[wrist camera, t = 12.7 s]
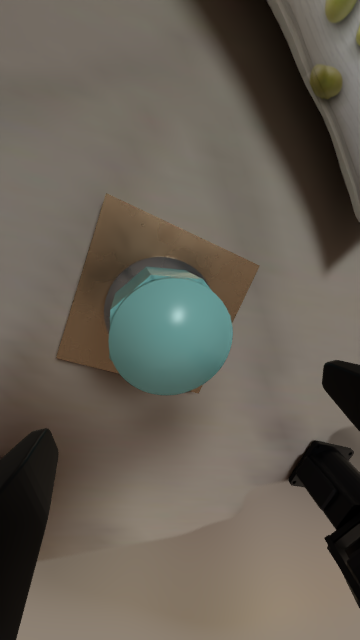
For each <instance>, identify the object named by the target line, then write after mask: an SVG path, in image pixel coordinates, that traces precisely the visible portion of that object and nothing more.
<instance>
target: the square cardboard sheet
mask: <svg viewBox="0 0 360 640" xmlns="http://www.w3.org/2000/svg"><path fill="white" fill-rule="evenodd" d="M145 267H156V268H167V269H177V270H186V271H188V272H190V273H192V274H194V275H196V276H198V277H200V278H202V279H203V280H204V281H205V282H206V284H207V285H208V286H209V288H210V289H211V290H212V292H214V293H215V294H216V295H217V296H218V297H219V298H220V299H221V301H222V302H223V303H224V305H225V307H226V308H227V310H228V313H229V314H230V316H231V322H233V320H234V318H235V316H236V314H237V312H238V310H239V308H240V306H241V304H242V302H243V299H244V297H245V295H246V293H247V291H248V289H249V287H250V285H251V283H252V281H253V279H254V277H255V274H256V272H257V270H258V268H259V265H257V264H255V263H253V262H251V261H248V260H246V259H244V258H242V257H240V256H238V255H236V254H234V253H232V252H229V251H227V250H225V249H223V248H221V247H219V246H217V245H215V244H212V243H210V242H208V241H206V240H204V239H202V238H200V237H198V236H196V235H193V234H191V233H189V232H187V231H185V230H183V229H181V228H179V227H176V226H174V225H172V224H170V223H168V222H166V221H164V220H162V219H160V218H157V217H155V216H153V215H151V214H149V213H147V212H145V211H143V210H140V209H138V208H136V207H134V206H132V205H130V204H128V203H126V202H124V201H121V200H119V199H117V198H115V197H113V196H111V195H109V194H107V193H106V196H105V199H104V202H103V205H102V209H101V212H100V215H99V219H98V222H97V225H96V228H95V232H94V235H93V238H92V242H91V245H90V248H89V251H88V255H87V258H86V261H85V265H84V268H83V271H82V274H81V278H80V281H79V284H78V288H77V291H76V294H75V297H74V301H73V304H72V307H71V311H70V314H69V317H68V320H67V324H66V327H65V330H64V334H63V337H62V340H61V343H60V347H59V350H58V353H57V357H56V358H58V359H62V360H66V361H70V362H74V363H78V364H82V365H86V366H90V367H94V368H98V369H102V370H106V371H110V372H115V373H119V372H118V371H117V369H116V367H115V366H114V364H113V361H112V360H110V359H109V341H108V340H109V331H110V309H111V306H112V303H113V300H114V297H115V293H116V292H117V291H118V290H120V289H121V288H122V287H123V286H124V285H125V284H126V283H128V282H129V281H130V280H131V279H132V278H133V277H135V276H136V275H137V274H138V273H139V272H140V271H142V270H143V269H144V268H145ZM119 374H120V373H119ZM201 387H202V385H201V386H199V387H198V388H195V389H193V390H191V392H195V393H199V391H200V389H201Z"/></svg>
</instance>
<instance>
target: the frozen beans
mask: <svg viewBox="0 0 360 640" xmlns="http://www.w3.org/2000/svg"><path fill="white" fill-rule="evenodd" d="M266 1H267V2H268V4H269V6H270V8H271V10H272V12H273V14H274V16H275V18H276V19H277V21H278V23H279V26H280V28H281V30H282V32H283V34H284V36H285V39H286V41H287V43H288V45H289V48H290V50H291V53H292V55H293V58H294V60H295V62H296V65H297V67H298V69H299V72H300V74H301V76H302V79H303V81H304V83H305V85H306V87H307V89H308V91H309V93H310V94H311V96H312V98H313V100H314V102H315V104H316V106H317V108H318V109H319V111H320V113H321V115H322V117H323V119H324V122H325V124H326V126H327V129H328V131H329V133H330V136H331V139H332V142H333V145H334V148H335V151H336V155H337V159H338V162H339V166H340V169H341V172H342V175H343V178H344V181H345V184H346V187H347V190H348V192H349V195H350V199H351V202H352V206H353V209H354V213H355V216H356V218H357V219H358V221H359V223H360V0H266Z"/></svg>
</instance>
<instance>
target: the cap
mask: <svg viewBox="0 0 360 640" xmlns="http://www.w3.org/2000/svg"><path fill="white" fill-rule="evenodd" d="M232 336H233V332H232V322H231V316H230V314H229V313H228V310H227V308H226V307H225V305H224V303H223V302H222V301H221V299H220V298H219V297H218V296H217V295H216V294H215V293H214V292H212V290H211V289H210V288H209V286H208V285H207V284H206V282H205V281H204V280H203V279H202V278H200V277H198V276H196V275H194V274H192V273H190V272H188V271H186V270H177V269H167V268H156V267H145V268H144V269H143V270H142V271H140V272H139V273H138V274H137V275H136V276H135V277H133V278H132V279H131V280H130V281H129V282H128V283H126V284H125V285H124V286H123V287H122V288H121V289H120V290H118V291H117V292H116V293H115V297H114V300H113V303H112V306H111V309H110V331H109V340H108V341H109V359H110V360H112V361H113V364H114V366H115V367H116V369H117V371H118V372H119V373H120V375H121V376H122V377H123V378H124V379H125V380H126V381H127V382H129V383H130V384H131V385H132V386H134V387H136V388H138V389H140V390H142V391H145V392H148V393H151V394H157V395H176V394H181V393H185V392H188V391H191V390H193V389H195V388H198V387H199V386H201V385H203V384H204V383H206V382H207V381H208V380H210V379H211V378H212V377H213V376H214V375H215V374H216V373H217V372H218V371H219V369H220V368H221V367H222V365H223V364H224V362H225V360H226V358H227V356H228V354H229V351H230V348H231V344H232Z"/></svg>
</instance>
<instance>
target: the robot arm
mask: <svg viewBox="0 0 360 640" xmlns="http://www.w3.org/2000/svg"><path fill="white" fill-rule="evenodd" d="M322 385H323V388H324V390H325V391H326V392H327V393H328V395H329V396H330V397H331V398H332V399H333V401H334V402H335V403H336V404H337V405H338V407H339V408H340V409H341V410H342V411H343V412H344V414H345V415H346V416H347V417H348V418H349V420H350V421H351V422H352V423H353V424H354V426H355V427H356V428H357V429H358V430H359V431H360V365H358V364H353V363H349V362H344V361H340V360H334V361H330V362H327V363H325V365H324V368H323V378H322ZM353 454H354V451H353V450H352V449H351V448H348V447H343V446H338V445H334V444H329V443H324V442H320V441H314V442H313V443H312V444H311V446H310V447H309V449H308V450H307V452H306V454H305V455H304V457H303V458H302V460H301V461H300V463H299V464H298V466H297V467H296V469H295V471H294V472H293V474H292V475H291V477H290V478H289V482H290V484H291V485H293V486H301V487H305V488H306V489H307V491H308V492H309V494H310V495H311V496H312V498H313V499H314V501H315V502H316V503H317V505H318V506H319V508H320V509H321V510H322V511H323V512H324V513H325V515H326V516H327V518H328V519H329V520H330V522H331V523H332V524H333V526H334V527H335V529H336V531H335V532H334V533H332V534H331V535H328V536H326V537H325V540H326V542H327V544H328V547H327V549H328V550H329V552H330V553H331V555H332V556H333V558H334V560H335V561H336V563H337V564H338V566H339V568H340V569H341V571H342V573H343V575H344V577H345V579H346V582H347V584H348V586H349V588H350V590H351V592H352V594H353V596H354V598H355V600H356V602H357V604H358V606H359V608H360V472H359V471H358V470H357V469H356V468H355V467H354V466H353V465H352V464H351V463H350V462H349V459H350V458H351V457H352V455H353ZM57 462H58V449H57V446H56V444H55V441H54V439H53V436H52V434H51V432H50V430H49V429H47V428H45V429H40V430H36V431H33V432H31V433H30V434H29V435H28V436H26V437H25V438H24V439H23V440H22V441H21V442H20V443H19V444H17V445H16V446H15V447H14V448H13V449H12V450H11V451H10V452H8V453H7V454H6V455H5V456H4V457H3V458H2V459H0V640H16V638H17V634H18V630H19V626H20V623H21V619H22V615H23V611H24V607H25V603H26V599H27V596H28V592H29V588H30V585H31V581H32V577H33V573H34V570H35V566H36V562H37V558H38V554H39V551H40V547H41V543H42V539H43V536H44V532H45V528H46V524H47V520H48V515H49V510H50V504H51V498H52V492H53V486H54V480H55V474H56V468H57Z"/></svg>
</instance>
